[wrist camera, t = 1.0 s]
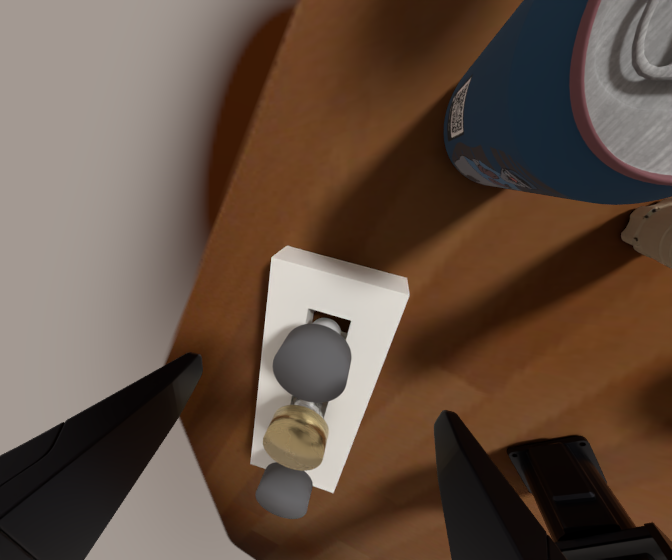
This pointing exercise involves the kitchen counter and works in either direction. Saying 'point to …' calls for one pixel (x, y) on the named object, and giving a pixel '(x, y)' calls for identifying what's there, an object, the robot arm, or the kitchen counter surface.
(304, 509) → the knob
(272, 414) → the control plate
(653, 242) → the handle
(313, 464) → the knob middle
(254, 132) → the kitchen counter surface
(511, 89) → the soda can
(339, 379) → the knob
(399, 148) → the kitchen counter surface
